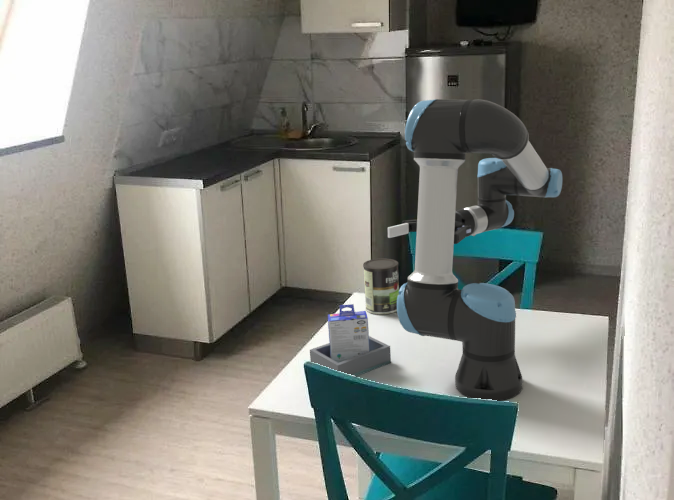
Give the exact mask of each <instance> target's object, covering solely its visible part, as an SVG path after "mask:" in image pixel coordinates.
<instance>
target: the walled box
mask: <svg viewBox="0 0 674 500" xmlns="http://www.w3.org/2000/svg"><path fill="white" fill-rule="evenodd" d="M309 355H310V356H309V358H310V359H309V361H310V363H311V362H314V363H318V364H320V365H323V366H326V367H329V368H331V369H334V370H337V371H341V372H344V373H347V374H351V375H355V377H357V376H360V375H363V374H365V373H367V372H370V371H373V370H375V369H378V368H381V367H383V366H386V365H388V364H391V363H392V361H391V360H392V359H391V345H389V344H386V343H385V342H383V341H380V340H378V339H376V338H374V337H372V336H370V335H369V352H367V353H364V354H362V355H359V356H356V357H353V358H351V359H348V360H345V361H342V362H340V363H338V362H336V361H334V360H332V359H331V355H330V343H329V342H328V343H326V344H322V345H320V346H317V347H314V348H311V349H309Z"/></svg>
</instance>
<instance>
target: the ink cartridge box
mask: <svg viewBox="0 0 674 500" xmlns="http://www.w3.org/2000/svg"><path fill="white" fill-rule="evenodd" d="M338 307H339V313H332V314H327V326H328V327H327V329H328V339H329V340H328V343H330V355H331V359H332V360H334V361H336V362H338V363H340V362H342V361H345V360H348V359H351V358H353V357H356V356H359V355H362V354H364V353H367V352H369V336H370V334H369V332H370V331H369V318H368V314H367V311H366V310H361V311H355V306H354V303H353V304H352V303H351V304H350V303H349V304H339V306H338ZM346 308H347V309H348V308H350V309H351V310H343V309H346Z"/></svg>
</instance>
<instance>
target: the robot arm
mask: <svg viewBox="0 0 674 500" xmlns="http://www.w3.org/2000/svg"><path fill="white" fill-rule="evenodd" d="M529 137H530V136H529V132H528V129H527V127H526V125H525V124H524V123H523V121H522V120H521V119H520V118H519V117H518V116H517V115H515V113H513V112H511V111H510V110H508V109H507V108H505V107H504V106H502V105H500V104H497V103H495V102H493V101H490V100H487V99H440V98H439V99H438V98H435V99H427V100H425V99H424V100H421V101H418V102H417V103H416V104H414V106H413V107H412V109H411V110H410V111H409V113H408V116H407V119H406V124H405V129H404V140H405V141H406V142H405V145H406V147H407V149H408V151H411V152H413V161H414V162H416V164H417V165H418V167H419V176H418V177H419V179H418V181H419V182H418V195H417V196H418V200H417V219H407V220H402V223H401V224H397V225H392V226H388V227H387V238H388V239H391V238H395V237H400V236H403V235H406V236H408V234H409V233H415V232H416V239H415V255H414V256H415V258H414V260H415V261H414V270H413V272H411V274H410V275H408V276H407V282H405V283H403V284H402V285H401V286H400V287H399V295H398V297H397V311H396V313H397V318H398V321H399V323H400V325H401V327H402V328H403V330H404V331H406V332H408V333H412V334H416V335H418V336H420V337H421V336H422V337H425V336H426V337H430V338H431V337H432V338H440V339H444V340H450V341H451V340H452V341H457V342H461V343H462V354H461V357H460V361H459V364H458V367H457V370H456V372H455V376H454V383H455V384H454V385H455V388H456V389H457V391H458V392H459V393H460V394H462V395H463V396H466V397H468V398H470V397H471V398H470V399H473V398H481V399H492V400H498V401H504V400H508V399H511V398H514V397H516V396H517V395H519V394H520V393H521V392H522V390H523V376H522V375H523V374H522V372H521V370H520V366H519V363H518V361H517V358H516V357H517V356H516V318H517V311H516V304H515V303H516V302H515V297H514V296H513V294H512V293H510V291H509V290H507V289H506V288H504V287H501V286H499V285H496V284H493V283H492V284H491V283H486V282H479V283H477V282H474V283H468V284H466V285H464V286H463V287H462V289H459V288H458V287H459V279H458V278H457V277H456V276H455V275H454V273H453V260H454V259H453V258H454V245H457V244H459V243H460V242H461V241H463V240H464V239H465V238H467V237H469V236H473V237H475V236H476V235H478V234H481V233H485V232H489V231H493V230H499V229H501V228H504V227H506V226H509V225H511V223H512V222H513V220H514V217H515V211H514V209H513V205H512V203H510V201H508V200H507V196H517V197H519V196H521V197H522V196H523V197H536V198H544V199H545V198H557V197H559V196H560V195H561V191H562V188H563V173H562V171H561V169H558V168H553V167H549V168H548V167H547V166H546V165H545V163H544V162H543V160H542V158H541V157H540V155H539V154H538V153H537V152H536V149H535V148H534V146H533V145H532V144H531V141H529V140H530V139H529ZM467 154H488V155H489V154H490V155H491V156H492V157H488V158H487V157H486V158H483V159H481V160H479V162H478V164H477V176H476V177H477V205H472V206H468V207H464V208H461V209H460V208H459V209H456V208H457V192H458V191H457V189H458V174H459V173H458V172H459V168H460V167H461V166H462V165H463V164H465V162H466V155H467Z"/></svg>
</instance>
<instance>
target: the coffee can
mask: <svg viewBox="0 0 674 500" xmlns="http://www.w3.org/2000/svg"><path fill="white" fill-rule="evenodd" d="M362 264H363V265H362V267H363V277H364V278H363V279H364V280H363V282H364V294H365V295H364V298H365V301H364V302H365V311H366V313H370V314H373V315H379V316H381V315H382V316H383V315H390V314H393V313H394V314H395V313H397V297H398V295H399V290H400V287H399V286H400V285H399V284H400V283H399V261H397V260H396V259H392V258H385V257H384V258H373V259H368V260H366V261H365V262H363V263H362Z"/></svg>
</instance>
